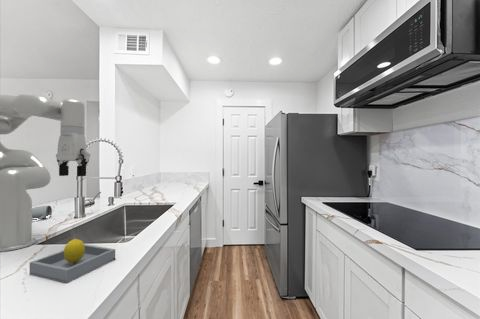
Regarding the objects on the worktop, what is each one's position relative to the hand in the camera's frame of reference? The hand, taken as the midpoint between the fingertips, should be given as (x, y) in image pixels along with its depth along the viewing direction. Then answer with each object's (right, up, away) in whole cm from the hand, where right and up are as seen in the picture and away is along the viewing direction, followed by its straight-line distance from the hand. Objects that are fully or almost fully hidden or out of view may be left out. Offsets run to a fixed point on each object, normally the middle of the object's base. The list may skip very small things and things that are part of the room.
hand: (72, 175), depth 87 cm
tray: (+12, -28, -15) cm, 34 cm away
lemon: (+12, -28, -15) cm, 33 cm away
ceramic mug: (-52, -29, +45) cm, 75 cm away
